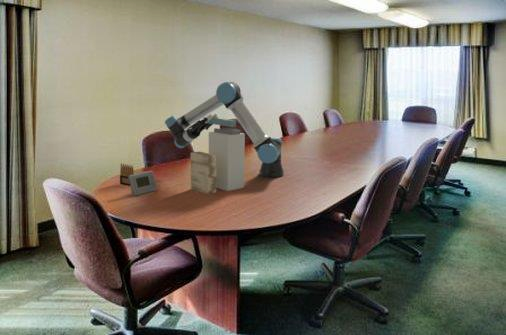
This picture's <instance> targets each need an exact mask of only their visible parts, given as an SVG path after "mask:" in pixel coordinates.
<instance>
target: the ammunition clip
mask: <svg viewBox="0 0 506 335" xmlns="http://www.w3.org/2000/svg"><path fill="white" fill-rule="evenodd" d="M134 170H135V169H134V166H133V165H132V164H127V163H123V162H120V170H119V172H120V173H119V174H120V175H119V184H120V185H123V186H127V187H131V186H130V182H129V179H128V176H129V175H133V174H135V172H134Z"/></svg>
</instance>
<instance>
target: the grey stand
mask: <svg viewBox="0 0 506 335" xmlns="http://www.w3.org/2000/svg"><path fill="white" fill-rule="evenodd" d="M245 143H246V140H245V132H244V133H243V132H241V130H240V129H232V128H226V127H220V128H213V131H209V132H208V153H209V154H214V155H216V189H219V190H223V191H226V192H230V191H234V190H239V189H242V188H243V189H244V188H245Z"/></svg>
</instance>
